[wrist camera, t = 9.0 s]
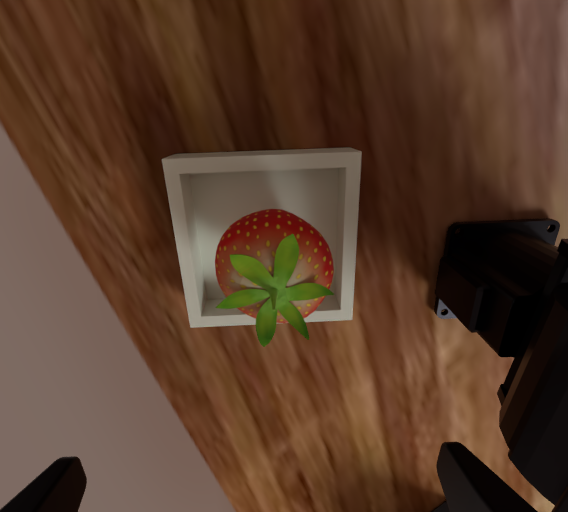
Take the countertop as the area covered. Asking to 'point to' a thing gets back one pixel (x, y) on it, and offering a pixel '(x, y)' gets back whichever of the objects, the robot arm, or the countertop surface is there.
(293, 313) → the fruit
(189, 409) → the countertop surface
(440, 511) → the box
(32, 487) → the robot arm
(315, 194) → the bin
